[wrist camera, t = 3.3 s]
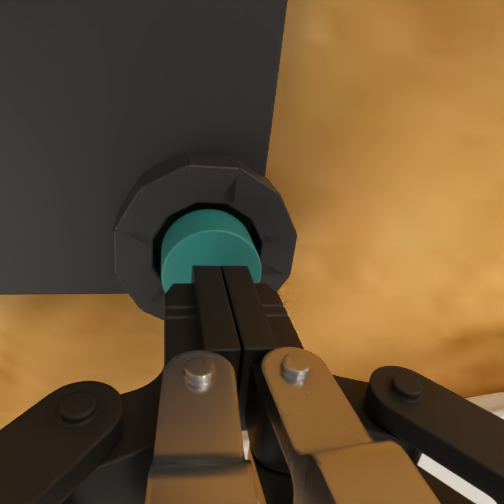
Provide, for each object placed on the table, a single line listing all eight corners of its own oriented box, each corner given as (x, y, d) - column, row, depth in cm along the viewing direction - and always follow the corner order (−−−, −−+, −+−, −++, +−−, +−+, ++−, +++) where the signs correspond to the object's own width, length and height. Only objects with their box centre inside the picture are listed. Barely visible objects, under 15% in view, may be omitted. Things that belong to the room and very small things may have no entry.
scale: (-238, -294, 9) (-413, -441, 6) (327, -152, 11) (375, -210, 9) (-76, 285, 15) (-127, 337, 12) (264, 284, 18) (281, 326, 15)
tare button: (162, 206, 13) (161, 228, 11) (255, 209, 13) (268, 231, 12) (160, 288, 14) (160, 319, 12) (246, 288, 14) (256, 317, 13)
